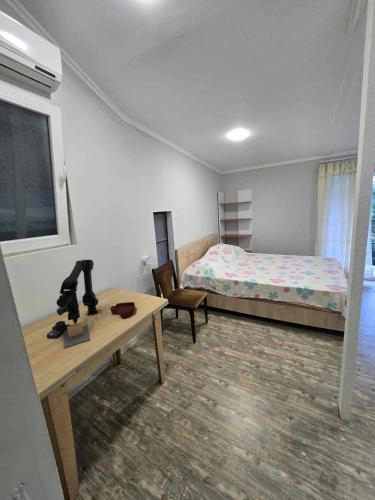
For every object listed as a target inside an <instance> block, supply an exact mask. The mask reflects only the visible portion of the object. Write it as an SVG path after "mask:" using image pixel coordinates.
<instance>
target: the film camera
mask: <svg viewBox="0 0 375 500" xmlns="http://www.w3.org/2000/svg"><path fill="white" fill-rule="evenodd" d="M68 326H71V324H69V323H68V324H67V323H66V321H65V320H60V321H57V322H55V325H53V326H52V327H51V330H50V331H49V332H48V333H47V334H46V338H47V339H58V338H60V337H61V336H62V335H64V331H68V329H67V327H68Z"/></svg>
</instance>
